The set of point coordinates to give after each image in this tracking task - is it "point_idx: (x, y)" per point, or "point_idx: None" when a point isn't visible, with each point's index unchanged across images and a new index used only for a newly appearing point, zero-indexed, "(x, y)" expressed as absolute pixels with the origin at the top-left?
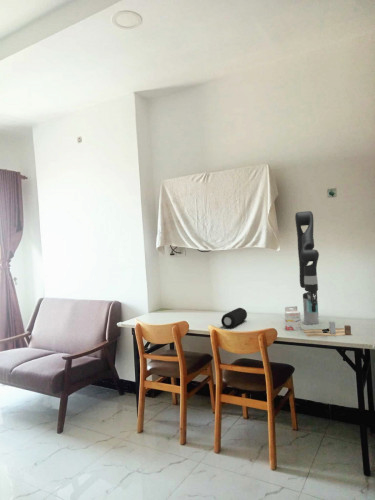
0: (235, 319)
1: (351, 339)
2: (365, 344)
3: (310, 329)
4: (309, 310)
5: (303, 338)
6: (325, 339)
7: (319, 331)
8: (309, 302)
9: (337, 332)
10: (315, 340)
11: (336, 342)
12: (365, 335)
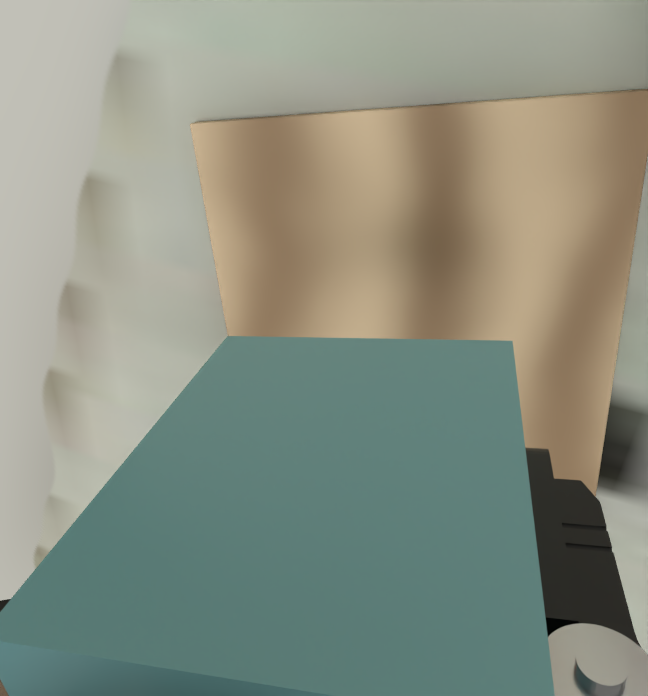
0: None
1: None
2: (38, 565)
3: (623, 245)
4: (196, 385)
5: (156, 37)
6: (140, 319)
7: None
8: (16, 644)
9: None
10: (82, 194)
11: (48, 390)
12: None
